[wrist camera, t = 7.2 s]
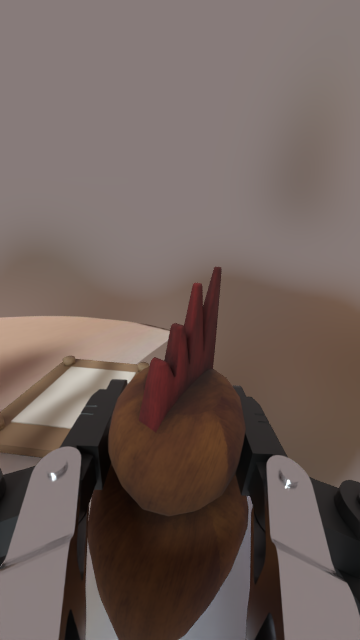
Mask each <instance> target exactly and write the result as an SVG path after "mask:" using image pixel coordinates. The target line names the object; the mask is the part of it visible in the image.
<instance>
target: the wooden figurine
mask: <svg viewBox="0 0 360 640" xmlns="http://www.w3.org/2000/svg"><path fill="white" fill-rule="evenodd" d="M220 281H221V267H215V268H214V270H213V274H212V277H211V281H210V285H209V288H208V292H207V295H206V299H205V302H204V305H203V295H202V284H200V283H194V284H193V287H192V291H191V296H190V301H189V305H188V310H187V315H186V319H185V324H184V326H183V325H180V324H177V323H174V324H172V326H171V329H170V334H169V339H168V345H167V350H166V355H165V360H164V361H163V360H161V359H158V358H156V357H154V358H153V359H152V360H151V363H150V366H149V367H147V368H145V369H143V370H142V371H141V372H139V373H138V374H137V375H135V376H134V377H133V378H132V380H131V381H130V382H129V383H128V384H127V386H126V387H125V389H124V390H123V392H122V393H121V394H120V396H119V397H118V399H117V402H116V405H115V408H114V411H113V414H112V419H111V425H110V430H109V442H108V452H109V456H110V460H111V465H110V468H109V471H108V475H107V478H106V481H105V484H104V487H103V490H94V492H93V495H92V500H91V507H90V514H89V521H88V537H87V538H88V544H89V549H90V554H91V559H92V564H93V569H94V574H95V579H96V584H97V588H98V592H99V595H100V598H101V601H102V603H103V605H104V607H105V610H106V612H107V614H108V616H109V619H110V621H111V623H112V626H113V628H114V630H115V632H116V635H117V637H118V639H119V640H178V639H180V638H181V637H183V636H184V635H185V634H186V633H187V632H188V631H189V629H190V628H191V627H192V626H193V625H194V623H195V622H196V621H197V620H198V618H199V617H200V616H201V615H202V614H203V612H204V611H205V610H206V609H207V608H208V606H209V605H210V603H211V602H212V600H213V599H214V597H215V596H216V594H217V592H218V591H219V589H220V587H221V586H222V584H223V582H224V581H225V579H226V578H227V576H228V574H229V573H230V571H231V569H232V566H233V564H234V561H235V559H236V556H237V554H238V551H239V549H240V546H241V544H242V541H243V538H244V535H245V532H246V529H247V526H248V503H247V496H241V493H240V490H239V486H238V482H237V478H236V474H235V473H236V470H237V467H238V464H239V460H240V455H241V451H242V447H243V442H244V436H245V430H246V427H245V422H244V416H243V410H242V405H241V400H240V396H239V395H238V394H237V392H236V391H235V389H234V388H233V386H232V385H231V384H230V382H229V381H228V380H227V379H226V378H225V377H224V376H223V375H221V374H220V373H218V372H217V371H216V370H214V369H213V362H214V352H215V342H216V330H217V329H216V328H217V318H218V306H219V294H220Z"/></svg>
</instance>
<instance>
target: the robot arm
mask: <svg viewBox="0 0 360 640" xmlns="http://www.w3.org/2000/svg"><path fill="white" fill-rule="evenodd" d="M127 384H128V383H127V380H122V379H112V380H111V381H110V383H109V385H108V387H107V389H99V390H98V391H97V392H95V393H94V394H93V395H92V396H91V397H90V398H89V400H88V402H87V403H86V406H85V407H84V408H83V410H82V412H81V414H80V415H79V416H78V418H77V420H76V421H75V423H74V425H73V426H72V428H71V430H70V431H69V433H68V434H67V436H66V438H65V439H64V441H63V443H62V444H61V446H60V447H59V448H58V449H56V450H53V451H52V452H50V453H48V454H47V455H46V456H44V457H43V458H42V459H41V460H40V461H39V462H38V464H37V465H36V466H34V467H30V468H27V469H24V470H20V471H16V472H13V473H9V474H5V475H3V474H2V471H1V469H0V566H1V564H2V563H3V562H4V563H3V564H2V566H1V567H0V640H85V636H86V592H85V583H86V559H87V537H88V515H89V502H90V500H91V497H92V494H93V491H94V490H103V487H104V484H105V481H106V478H107V475H108V471H109V468H110V465H111V460H110V456H109V452H108V442H109V430H110V425H111V419H112V414H113V411H114V408H115V405H116V402H117V399H118V397H119V396H120V394H121V393H122V392H123V390H124V389H125V387H126V386H127ZM233 388H234V389H235V391H236V392H237V394H238V395H239V396H240V400H241V405H242V410H243V416H244V422H245V427H246V430H245V436H244V442H243V447H242V451H241V455H240V460H239V464H238V467H237V470H236V473H235V474H236V478H237V482H238V486H239V490H240V493H241V496H250V497H251V501H252V504H253V508H252V511H251V564H250V593H249V601H248V608H247V619H246V640H360V483H359V482H356V481H352V480H346V481H344V482H342V484H341V485H340V487H339V488H337V487H334V486H331V485H328V484H326V483H323V482H320V481H317V480H315V479H313V478H311V477H309V476H308V475H307V473H306V472H305V471H304V469H303V468H301V466H299V465H298V464H297V463H296V462H294V461H293V460H291V459H290V458H288V457H287V455H286V453H285V451H284V450H283V448H282V446H281V444H280V442H279V440H278V438H277V436H276V435H275V433H274V431H273V429H272V427H271V425H270V424H269V421H268V420H267V418H266V416H265V414H264V412H263V410H262V408H261V406H260V405H259V404H258V403H257V402H256V401H255V400H254V399H253V398H252V397H246V395H245V393H244V391H243V389H242V387H241V386H233ZM4 560H5V561H4Z"/></svg>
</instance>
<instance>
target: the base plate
mask: <svg viewBox="0 0 360 640" xmlns="http://www.w3.org/2000/svg"><path fill="white" fill-rule="evenodd" d="M147 367H149V364H148V363H146V362H141V363H139V364H138V365H137V364H126V363H115V362H103V361H92V360H81V359H75V357H74V356H67V357H65V358H63V362H62V363H61V364H59V365H58V366H57V367H56V368H54V369H53V370H52V371H51V372H49V373H48V374H47V375H46V376H44V377H43V378H42V379H41V380H39V381H38V382H37V383H36V384H34V385H33V386H32V387H31V388H30V389H28V390H27V391H26V392H25V393H23V394H22V395H21V396H20V397H18V398H17V399H16V400H15V401H13V402H12V403H11V404H10V405H8V406H7V407H6V408H5V409H4V410H2V411H1V412H0V452H2V453H10V454H18V455H26V456H34V457H42V458H43V457H44V456H46V455H47V454H48V453H50V452H52V451H53V450H56V449H58V448H59V447H60V446H61V444H62V443H63V441H64V439H65V438H66V436H67V434H68V433H69V431H70V430H71V428H72V426H73V425H74V423H75V421H76V420H77V418H78V416H79V415H80V414H81V412H82V410H83V408H84V407H85V406H86V403H87V402H88V400H89V398H90V397H91V396H92V395H93V394H94V393H95V392H97V391H98V390H99V389H107V387H108V385H109V383H110V381H111V380H112V379H122V380H127V383H129V382H130V381H131V380H132V378H133V377H134V376H135V375H137V374H138V373H139V372H141V371H142V370H143V369H145V368H147Z"/></svg>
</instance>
